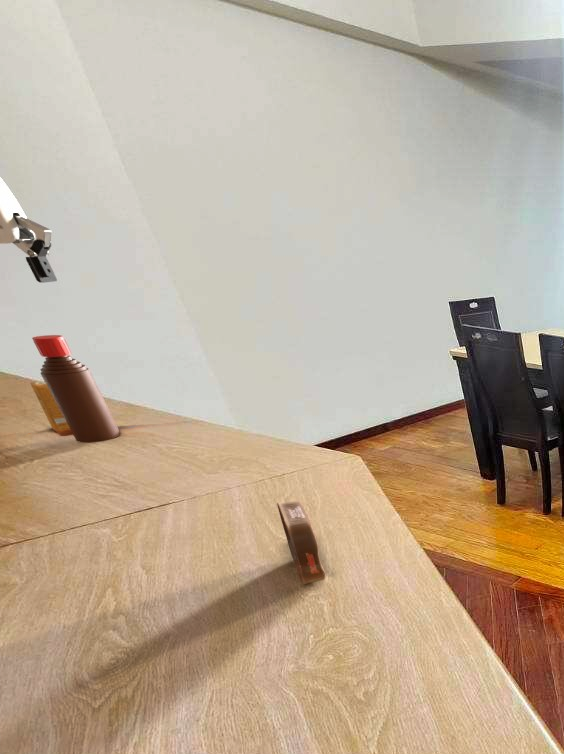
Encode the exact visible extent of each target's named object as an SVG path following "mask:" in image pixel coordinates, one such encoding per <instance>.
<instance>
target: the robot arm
mask: <svg viewBox="0 0 564 754" xmlns="http://www.w3.org/2000/svg"><path fill="white" fill-rule="evenodd" d="M51 241H52V230H51V229H50V228H48V227H46V226H44V225H42V224H40V223H38V222H35V221H33V220H32V219H29V218H27V216H26V214H25V212H24V211H23V209H22V207H21V205H20V204H19V201H18V200H17V199H16V197H15V196H14V194H13V193H12V191H11V190H10V188H9V187H8V185H7V184H6V183H5V182H4V180H3V179H2V178H1V177H0V244H2V245H5V244H13V245H14V246H15V247H17V248H18V249H20V250H21V251H22V252H23V253H25V254H26V255H27V256H25V260H26V262H27V264H28V267H29V268H30V270H31V272H32V274H33V276H34V278H35V280H36V282H38V283H52V282H53V283H54V282H57V281H58V278H57V276H56V274H55V272H54V270H53V268H52V266H51V263H50V261H49V260H48V258H47V257H49V256H50V252H49V251H50V250H51V247H52V243H51Z"/></svg>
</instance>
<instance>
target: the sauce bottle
mask: <svg viewBox="0 0 564 754" xmlns="http://www.w3.org/2000/svg"><path fill="white" fill-rule="evenodd" d="M41 367H42V368H40V375H41V378H42V379H43V382H44V381H45V383H46V385H47V386H48V388H49V390H50V392H51V394H52V396H53V398H54V400H55V401H56V403H57V405H58V407H59V409H60V411H61V413H62V414H63V416H64V418H65V420H66V422H67V424H68V426H69V427H70V429H71V431H72V433H73V434H72V435H73V437H74V438H75V441H76V442H78V441H80V442H79V443H96V442H97V441H98V442H104V441H108V440H112V439H115V438H118V437H120V436H121V435H122V433H121V431H120V429H119V427H118V425H117V423H116V421H115V418H114V417H113V415H112V413H111V410H110V409H109V407H108V404H107V402H106V401H105V399H104V397H103V395H102V392H101V390H100V389H99V387H98V385H97V383H96V381H95V379H94V377H93V375H92V372H91V370H90V369H89V368H88V367H87V366H86V364H82V363H81V362H80V361H78V360H77V359H76V358H72V356H71V355H67V356H59V357H44V361H43V364H42V365H41ZM120 434H121V435H120ZM98 442H97V443H98Z"/></svg>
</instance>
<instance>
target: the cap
mask: <svg viewBox="0 0 564 754" xmlns="http://www.w3.org/2000/svg"><path fill="white" fill-rule="evenodd" d="M31 338H32V341H33V343H34V345H35V347H36V349H37V351H38V353H39V355H40V356H41V357H43V358H46V357H59V356H71V354H72V351H71V349H70V347H69V345H68V343H67V341H66V339H65V338H64V336H63V335H60V334H49V335H38V336H33V337H31Z"/></svg>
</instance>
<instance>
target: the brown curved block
mask: <svg viewBox="0 0 564 754" xmlns="http://www.w3.org/2000/svg"><path fill="white" fill-rule="evenodd" d="M276 506H277V510H278V513H279V516H280V521H281V524H282V527H283V530H284V531H283V532H284V534H285V537H286V542H287V545H288V548H289V549H288V550H289V551H290V555H291V557H292V560H293V564H294V566H295V570H296V572H297V574H298V577H299V580H300V583H301V585H302V586H305V585H307V584H311V583H315V582H320V581H324V580H325V579H326V578H327V577H326V571H325V569H324V567H323V565H322V562H321V558H320V554H319V553H320V552H319V544H318V540H317V537H316V534H315V531H314V528H313V525H312V522H311V519H310V518H309V515H308V513H307V510H306V508H305V506H304V504H303V503H302V502H301V501H300V500H295V501H287V502H286V501H285V502H277V503H276Z"/></svg>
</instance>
